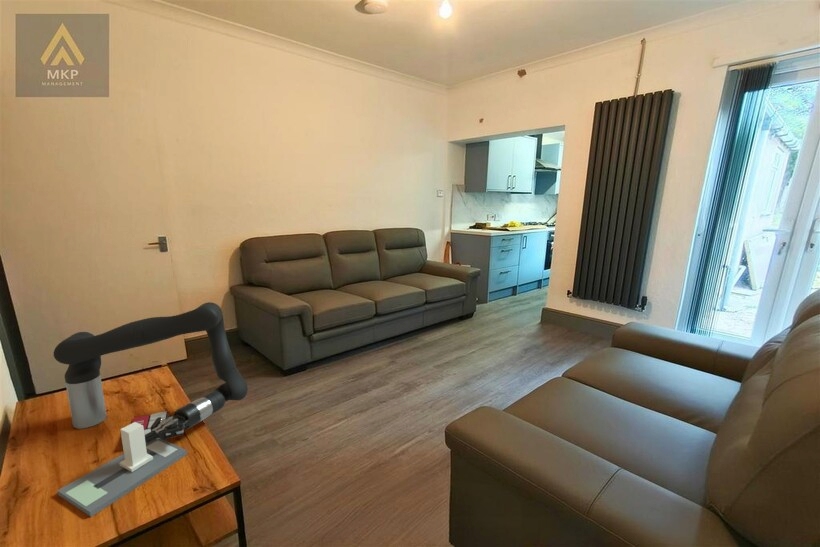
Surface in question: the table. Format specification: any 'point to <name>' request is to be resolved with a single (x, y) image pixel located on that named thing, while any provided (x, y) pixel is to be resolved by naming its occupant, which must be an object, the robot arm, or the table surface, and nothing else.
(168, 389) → the table surface
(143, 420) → the calculator
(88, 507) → the switch panel
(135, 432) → the switch slider
